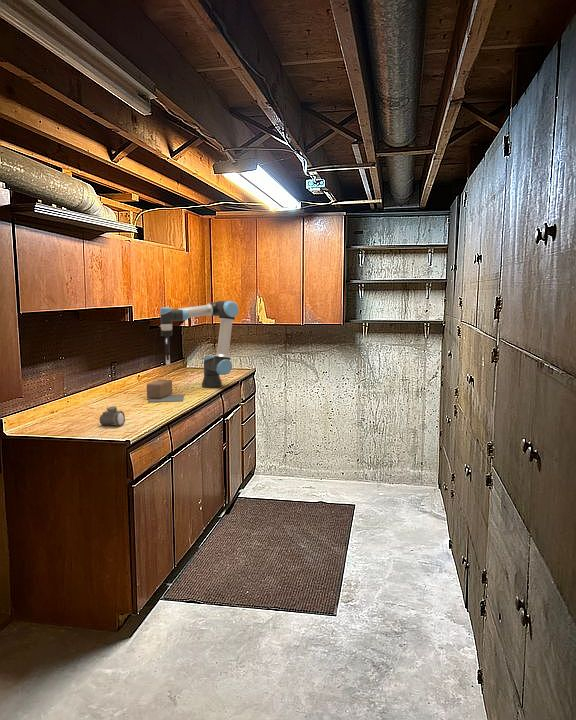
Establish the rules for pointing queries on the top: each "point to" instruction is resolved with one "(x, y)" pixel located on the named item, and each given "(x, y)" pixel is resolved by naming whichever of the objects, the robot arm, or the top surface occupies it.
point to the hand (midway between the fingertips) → (168, 364)
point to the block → (159, 389)
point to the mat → (169, 399)
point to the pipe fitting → (112, 417)
